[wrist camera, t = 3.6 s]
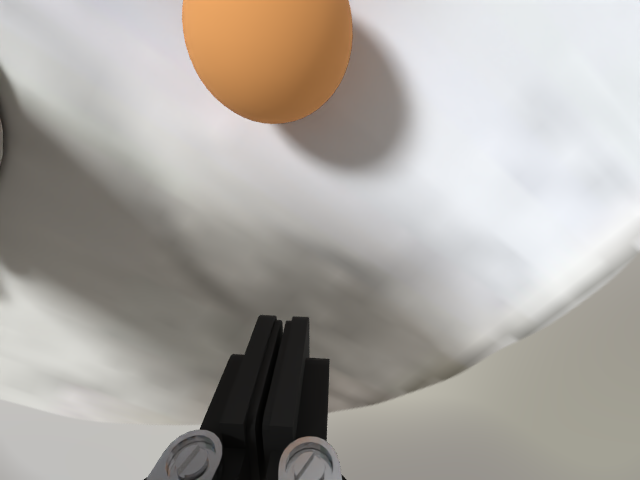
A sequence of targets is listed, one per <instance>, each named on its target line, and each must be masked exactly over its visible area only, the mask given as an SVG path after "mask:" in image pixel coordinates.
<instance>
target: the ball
mask: <svg viewBox="0 0 640 480" xmlns="http://www.w3.org/2000/svg"><path fill="white" fill-rule="evenodd" d="M182 22H183V33H184V38H185V43H186V47H187V50H188V53H189V56H190V59H191V61H192V64H193V66H194V68H195V70H196V72H197V74H198V76H199V77H200V79H201V81H202V82H203V83H204V85H205V86H206V88H207V89H208V90H209V91H210V92H211V94H212V95H213V96H214V97H215V98H216V99H217V100H218V101H220V102H221V103H222V104H223V105H224V106H226V107H227V108H229V109H230V110H232V111H233V112H234V113H236V114H238V115H240V116H242V117H244V118H247V119H250V120H252V121H256V122H261V123H269V124H279V123H287V122H292V121H296V120H298V119H301V118H304V117H306V116H308V115H310V114H312V113H313V112H314V111H316V110H317V109H319V108H320V107H321V106H322V105H323V104H324V103H325V102H326V101H328V99H329V98H330V97H331V96H332V95H333V93H334V92H335V90H336V89H337V87H338V86H339V84H340V82H341V80H342V78H343V76H344V74H345V72H346V69H347V66H348V63H349V59H350V54H351V48H352V38H353V33H352V16H351V9H350V5H349V1H348V0H183V9H182Z"/></svg>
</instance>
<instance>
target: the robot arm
mask: <svg viewBox="0 0 640 480" xmlns="http://www.w3.org/2000/svg"><path fill="white" fill-rule="evenodd" d="M2 156H3V129H2V124H1V119H0V164H1V160H2ZM328 389H329V359H320V358H309V317H293V318H292V321H286V324H285V328H284V332H283V327H282V320H277V318H276V316H269V315H260V316H259V317H258V320H257V322H256V325H255V328H254V331H253V333H252V336H251V339H250V341H249V344H248V347H247V350H246V352H245V355H239V354H232V355H231V357H230V359H229V361H228V363H227V365H226V368H225V370H224V373H223V375H222V377H221V380H220V382H219V384H218V387H217V389H216V392H215V394H214V396H213V399H212V401H211V403H210V406H209V408H208V411H207V413H206V415H205V418H204V420H203V423H202V425H201V427H200V430H194V431H190V432H187V433H185V434H183V435H181V436H179V437H178V438H177V439H176V440H174V441H173V442H172V443H171V444H170V445H169V446H168V448H167V449H166V450H165V451H164V453H163V454H162V456H161V457H160V459H159V460H158V462H157V463H156V465H155V467H154V468H153V470H152V471H151V473H150V474H149V476H148V477H147V478H145V479H144V480H346V479H345V478H344V477H343V476H342V474H341V468H340V462H339V459H338V455H337V453H336V452H335V450H334V448H333V447H332V446H331V445H330V444H329V443H328V442H326V441H327V440H326V439H327V415H328Z"/></svg>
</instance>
